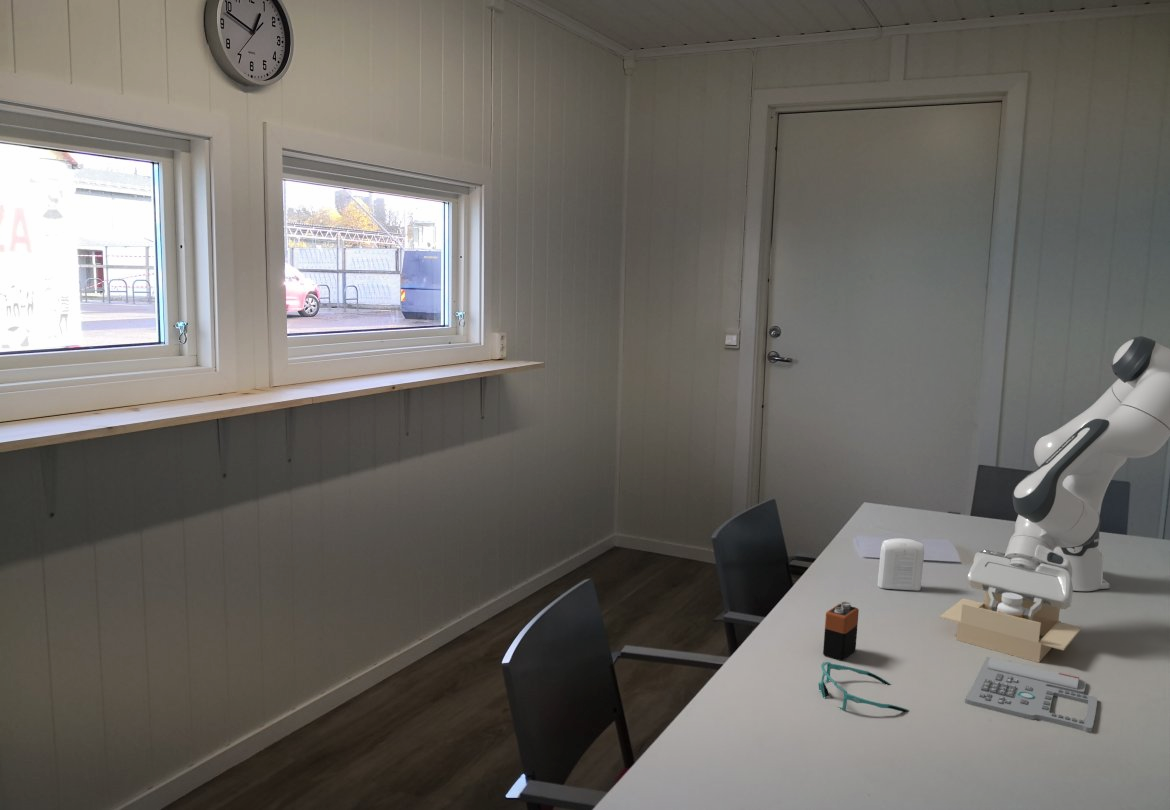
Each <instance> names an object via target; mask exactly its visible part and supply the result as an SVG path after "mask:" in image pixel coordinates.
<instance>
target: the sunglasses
mask: <svg viewBox="0 0 1170 810" xmlns="http://www.w3.org/2000/svg"><path fill="white" fill-rule="evenodd" d="M825 666H826V668H825ZM820 667H821V670H822V675H821V680H820V681H819V682H818V690H821V691H820V694H821V696H822V699H823V698H824V697H825V698H826V699H827V697H828V696H830V693H829V690H828V688H827V687H826V684H825V683H826V682H827V683H829V682H830V681H831V682H832V683H833V686H835V687H836V688H838V689H839V690H840V691H842V693H843V695H842V696H843V701H842V707H840V706H838V707H839V708H840V709H839V710H841V709H842V711H846V710H847V705H848V700H849V701H852V702H853V703H856V704H866V705H871V706H875V707H877V708H880V709H881V708H882V709H890V710H893V711H899V712H903V713H905V712H910V710H909V709H907V708H905V707H901V706H898V705H893V704H888V703H880V702H875V701H872V700H868V699H864V698H861V697H860V696H859V697H858V696H856V695H853V694H851V693H849V692H847V690H846V689H844V688H842V687H841V686H840V685H839V684H838V683H837V681H835V680H834V679H833V678H832V676H831V670H837V671H842V670H843V671H844V670H846V671H847V670H848V671H850V672H851V671H852V672H854V673H858V674H860V675H866V676H868V677H870V678H873V679H875V680H877V681H878V682H881V683H882V684H884V685H886V684H887V686H890V685H892V684H891V683H890V682H888V681H887V680H885V679H883V678H882V677H880V676H878V675H877V674H875V673H874V672H870V671H869V670H868V671H867V670H863V669H859V668H855V667H852V666H851V667H850V666H846V665H841V664H836V663H831V662H829V661H825V662H822V663H821V664H820ZM825 677H826V680H825ZM829 680H830V681H829ZM825 681H826V682H825ZM828 681H829V682H828ZM824 682H825V683H824ZM825 698H824V699H825Z"/></svg>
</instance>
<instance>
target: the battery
mask: <svg viewBox="0 0 1170 810" xmlns="http://www.w3.org/2000/svg"><path fill="white" fill-rule="evenodd" d="M859 611H860V610H859V608H858V607H855V606H852V604H851V602H849V601H841V602H840V603H838V604H836V605H835V606H833V607H831V609H829V610H827V611H826V613H825V622H824V636H823V638H824V639H823V650H822V654H823V655H824V656H825V655H826V656H825V657H828V656H829V657H828V658H831V659H835V660H838V659H839V661H844V660H845V659H847V657H849V656H850V655H852V654H853V653H854V652H855V651H856V648H857V638H858V637H857V636H858V623H859Z"/></svg>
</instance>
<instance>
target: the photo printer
mask: <svg viewBox="0 0 1170 810" xmlns="http://www.w3.org/2000/svg"><path fill="white" fill-rule="evenodd" d="M880 547H881V548H880V553H879V555H880V556H879V565H878V576H877V587H879V589H888V590H891V589H892V590H902V591H905V590H906V591H917V592H918V591H921V586H922V578H923V577H922V576H923V569H924V568H923V567H924V556H925V546H924V544H923V543H921V542H919V541H918V540H914V539H911V538H910V539H909V538H900V537H899V538H890V539H885V540H883V541H882V542H881V546H880Z"/></svg>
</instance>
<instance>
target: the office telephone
mask: <svg viewBox="0 0 1170 810" xmlns="http://www.w3.org/2000/svg"><path fill="white" fill-rule="evenodd" d="M1086 687H1087V681H1086V680H1084V679H1081V678H1080V676H1076V675H1072V674H1068V673H1063V672H1059V671H1054V670H1050V669H1046V668H1041V667H1036V666H1032V665H1028V664H1024V663H1020V662H1015V661H1010V660H1006V659H1000V658H997V657H992V656H989V657H988V656H987V657H986V658H985V660H984V662H983V664H982V666H981V668H980V670H979V672H978V674H977V676H976V678H975V680H974V683H973V684H972V686H971V689H970V690H969V691H968V692H967V695H966V696H965V698H964V704H967V705H970V706H974V707H978V708H981V709H987V710H989V711H994V712H997V713H1002V714H1006V715H1010V716H1014V717H1018V718H1022V719H1026V720H1031V721H1032V720H1033V721H1035V720H1039V721H1043V722H1048V723H1051V724H1055V725H1060V726H1063V727H1067V728H1072V729H1076V730H1080V731H1083V732H1085V733H1089V734H1090V733H1092V732H1093V729H1094V723H1095V718H1096V713H1097V706H1098V697H1096V696H1094V695H1089V694H1085V693H1086ZM1054 697H1059V698H1061V699H1066V700H1070V701H1075V702H1079V703H1084V704H1087V710H1086V715H1085V719H1078V718H1076V717H1070V716H1067V715H1062V714H1057V713H1055V712H1050V711H1051V707H1052V703H1053V699H1054Z"/></svg>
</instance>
